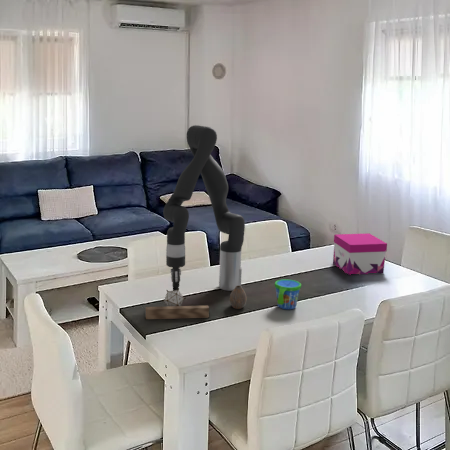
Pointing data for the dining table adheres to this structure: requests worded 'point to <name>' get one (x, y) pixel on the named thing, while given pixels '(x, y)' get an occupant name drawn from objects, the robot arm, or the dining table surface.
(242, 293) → the vase
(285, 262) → the dining table surface
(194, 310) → the board
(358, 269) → the decorative box
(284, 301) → the snack cup
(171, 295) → the game die
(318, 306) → the dining table surface
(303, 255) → the dining table surface
